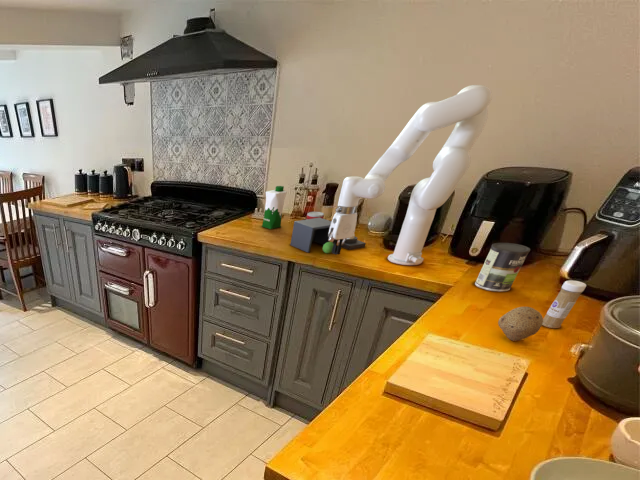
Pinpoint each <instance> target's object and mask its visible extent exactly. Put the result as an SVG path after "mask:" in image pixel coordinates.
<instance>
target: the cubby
mask: <svg viewBox="0 0 640 480" xmlns="http://www.w3.org/2000/svg"><path fill="white" fill-rule="evenodd" d="M331 222H332V220H328V219H325V218H313V219H307V220H306V219H301V220H295V221H293V227H292V234H291V240H290V244H289V245H290V246H291V247H294V248H296V249H298V250H301V251H302V252H306V253H310V252H311V248H312V243H317V244H320V245H322V246H323V245H324V244H325V243H327V242H330V241H328V239H329V237H328V233H329V229H330V225H331Z"/></svg>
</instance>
